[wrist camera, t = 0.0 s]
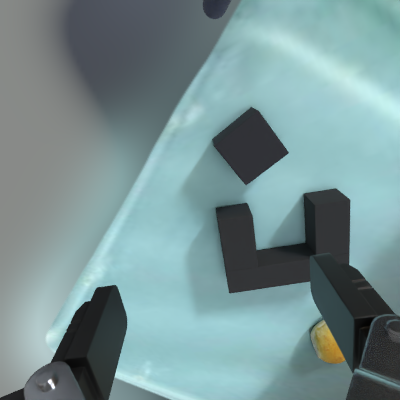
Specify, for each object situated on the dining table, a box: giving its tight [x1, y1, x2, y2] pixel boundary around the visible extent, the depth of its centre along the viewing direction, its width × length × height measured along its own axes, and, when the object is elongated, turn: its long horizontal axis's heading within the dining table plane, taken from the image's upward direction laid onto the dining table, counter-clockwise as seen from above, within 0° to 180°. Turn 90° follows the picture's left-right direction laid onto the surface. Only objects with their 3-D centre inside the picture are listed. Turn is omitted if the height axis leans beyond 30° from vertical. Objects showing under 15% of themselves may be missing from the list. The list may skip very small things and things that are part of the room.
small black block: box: [212, 107, 289, 185], centre depth 37 cm, size 6×6×4 cm
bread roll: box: [311, 320, 345, 364], centre depth 48 cm, size 8×9×4 cm
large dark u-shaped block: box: [216, 189, 350, 293], centre depth 41 cm, size 11×16×4 cm
